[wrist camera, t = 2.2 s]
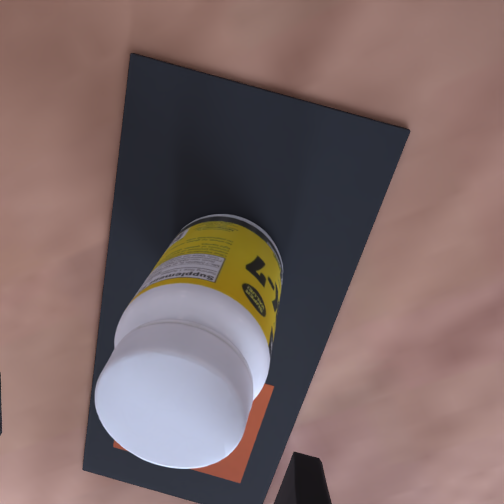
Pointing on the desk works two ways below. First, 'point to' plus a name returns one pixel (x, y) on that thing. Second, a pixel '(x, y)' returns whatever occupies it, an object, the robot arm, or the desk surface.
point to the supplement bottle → (194, 345)
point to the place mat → (255, 210)
